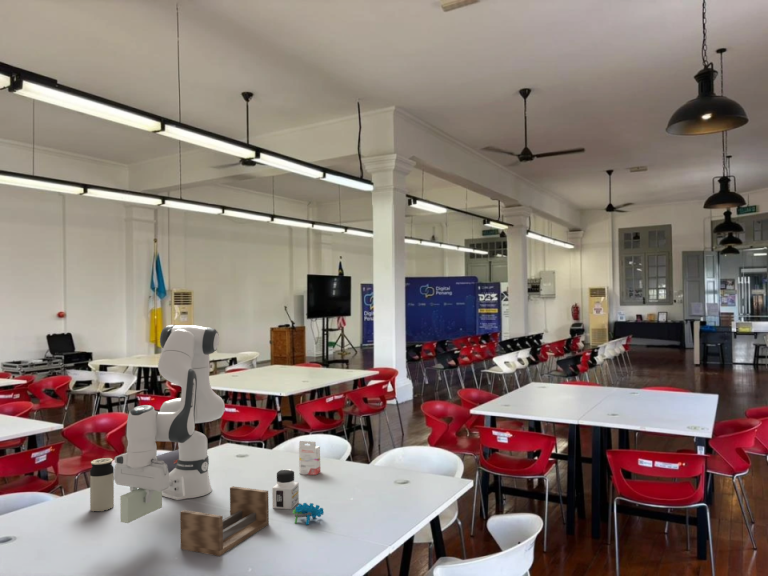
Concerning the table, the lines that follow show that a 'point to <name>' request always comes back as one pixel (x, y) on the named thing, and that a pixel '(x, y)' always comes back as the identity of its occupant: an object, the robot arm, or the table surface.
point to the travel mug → (101, 485)
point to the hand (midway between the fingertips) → (142, 501)
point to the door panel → (138, 504)
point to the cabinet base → (225, 523)
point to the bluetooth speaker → (169, 459)
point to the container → (285, 490)
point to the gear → (307, 511)
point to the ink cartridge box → (309, 458)
